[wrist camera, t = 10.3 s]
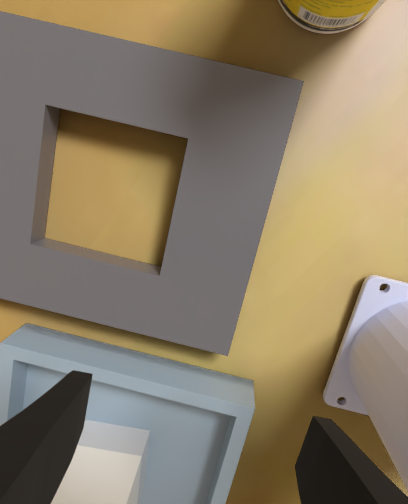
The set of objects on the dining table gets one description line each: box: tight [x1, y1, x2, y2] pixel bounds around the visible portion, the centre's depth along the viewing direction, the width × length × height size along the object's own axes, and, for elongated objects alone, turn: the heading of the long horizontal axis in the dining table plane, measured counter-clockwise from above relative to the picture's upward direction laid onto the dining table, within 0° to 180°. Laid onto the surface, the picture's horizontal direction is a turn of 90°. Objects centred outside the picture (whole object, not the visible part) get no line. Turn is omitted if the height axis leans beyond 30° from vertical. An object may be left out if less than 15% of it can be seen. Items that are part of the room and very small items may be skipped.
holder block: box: [0, 11, 304, 356], centre depth 19 cm, size 16×14×2 cm
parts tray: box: [0, 323, 255, 504], centre depth 23 cm, size 14×14×2 cm
